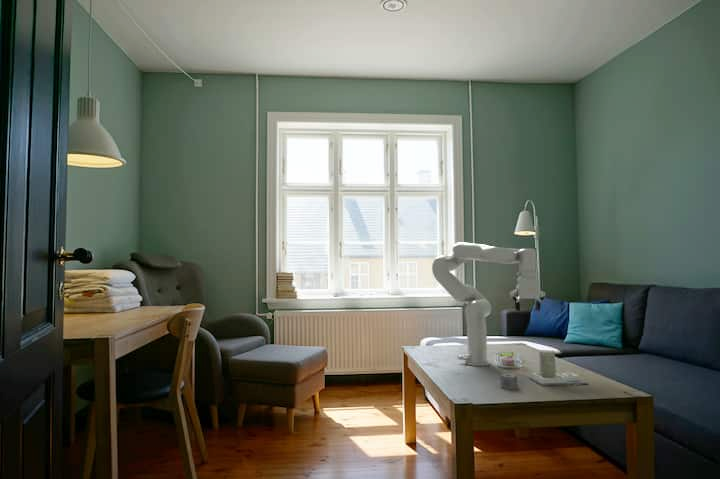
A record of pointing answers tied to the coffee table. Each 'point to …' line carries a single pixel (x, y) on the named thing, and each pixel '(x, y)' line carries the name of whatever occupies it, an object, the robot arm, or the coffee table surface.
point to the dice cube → (509, 381)
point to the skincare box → (547, 364)
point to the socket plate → (557, 379)
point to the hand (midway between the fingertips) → (527, 310)
